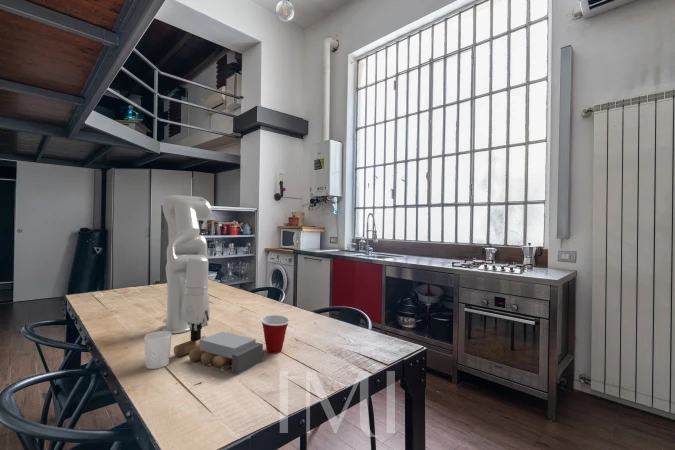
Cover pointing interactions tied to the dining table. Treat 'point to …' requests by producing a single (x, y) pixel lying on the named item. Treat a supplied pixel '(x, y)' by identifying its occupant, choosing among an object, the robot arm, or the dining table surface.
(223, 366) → the grey flat plate
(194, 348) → the roller bed
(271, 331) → the plastic cup
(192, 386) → the dining table surface
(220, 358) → the roller
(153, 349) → the white cup
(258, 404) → the dining table surface
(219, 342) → the slab
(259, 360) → the block
